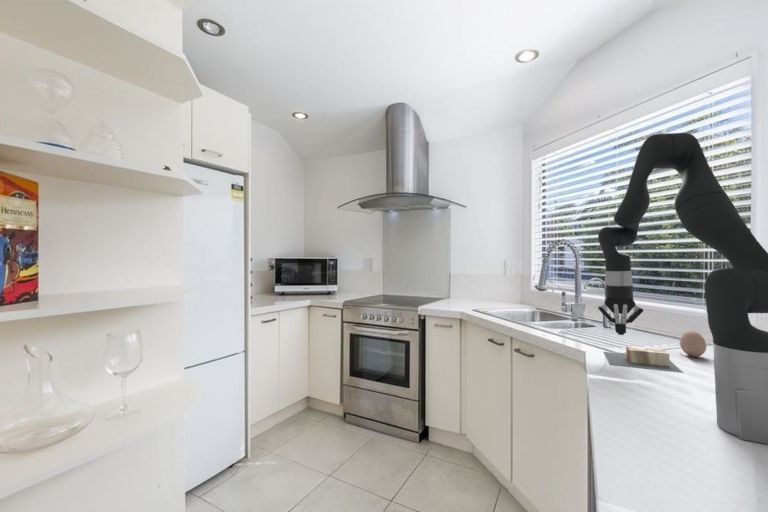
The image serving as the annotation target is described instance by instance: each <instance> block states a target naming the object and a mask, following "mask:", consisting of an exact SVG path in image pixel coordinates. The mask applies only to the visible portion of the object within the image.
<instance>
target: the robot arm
mask: <svg viewBox="0 0 768 512" xmlns="http://www.w3.org/2000/svg"><path fill="white" fill-rule="evenodd" d="M632 169H633V170H632V172H631V174H630V175H631V176H630V179H629V182H628V185H627V189H626V192H625V194H624V197H623V198H622V201H621V202H620V205H619V206H618V208H617V209H616V212H615V214H614V217H613V222H614V223H615V224H616V225H617V226H616V225H615V226H604V227H603V228H601V229H600V230H599V232H598V234H597V235H598V237H597V239H598V243H599V245H600V249H601V251H602V254H603V257H604V260H605V276H604V284H605V285H604V286H605V300H604V302H603V304H602V305H598V306H597V309H598V310H599V311H600V313H602V314H603V316H604V317H605V318H607V320H608V321H609V322H610V323H611V322H612V323H613V324H614V329H615V330H614V331H615V332H616V333H617V335H619V336H624V335H625V334H626V333H627V326H626V325H627V324H631V323H633V322H634V321H635V320H636V319H637V318H638V317H639V316H640V315H641V314H642V313H643V312H644V308H642V307H641V306H640V307H639V306H638V305H637V304H636V302H635V300H634V287H633V274H632V266H631V265H632V262H631V261H632V260H631V257H630V255H629V254H627V253H623V252H619V251H618V250H617V248H616V247H619V248H620V247H628V246H631V245H632V244H634V243H635V242H636V241H637V238H638V231H639V227H640V223H641V220H642V219H643V218H644V216H645V214H646V213H647V211H648V209H649V206H650V202H651V197H650V193H649V188H648V180H649V177H650V175H651V174H652V172H653V171H654V170H659V169H660V170H661V169H662V170H665V169H667V170H668V169H673V170H675V171H676V172H677V173H678V175H679V177H680V179H681V185H680V187H679V190H678V191H677V194H676V196H675V199H674V207H673V208H674V210H675V213H676V215H677V217H678V219H679V220H680V222H681V225H682V226H683V228H684V229H685V230H686V231H687V232H688V233H689V234H690V235H691V236H692V237H694V238H695V239H697V240H699V242H700V241H701V242H702V243H703V244H705V245H707V246H709V247H710V248H712V249H713V250H715V251H716V252H718V253H719V254H721V255H722V256H723V257H724V258H725V259H726V260H727V261H728V262H729V264H730V265H731V266H732V267H726V268H725V267H721V268H716V269H713V270H712V271H710V272H709V274H708V275H707V276H706V279H705V282H704V297H705V298H704V299H705V305H706V306H705V307H706V313H707V324H708V328H709V332H711V335H712V345H713V346H712V347H713V348H712V349H713V365H714V366H713V367H714V368H713V369H714V389H715V392H714V393H715V407H716V409H715V411H716V425H717V426H718V427H719V428H720V429H722V430H723V431H724V432H727V433H728V434H732V435H733V436H736V437H737V438H739V440H744V441H749V442H755V443H762V444H767V445H768V331H766V330H762V329H759V328H758V327H755V326H753V325H752V323H751V321H750V317H749V314H768V251H767V250H766V249H765V248H764V247H763V246H762V245H761V243H760V242H759V241H758V239H757V238H756V237H755V235H754V234H753V232H751V230H750V228H749V227H748V225H747V224H746V222H744V219H743V218H742V216H741V215H740V214H739V212H738V211H737V207H735V204H733V202H732V200H731V198H730V196H729V195H728V194H727V193H726V191H725V189H723V187H722V186H721V184H720V182H719V181H718V179H717V177H716V176H715V174H714V172H713V170H712V168H711V167H710V164H709V163H708V161H707V158H706V156H705V153H704V151H703V148H702V147H701V144H700V142H699V140H698V139H697V137H695V135H694V134H691V133H688V132H673V133H659V134H658V133H656V134H651V135H649V136H648V137H647V138H646V139H645V140H644V142H643V143H642V145H641V146H640V148H639V152H638V154H637V157H636V159H635V162H634V167H633V168H632ZM607 310H609V311H611V313H613V317H612V316H611V315H610V314H609V313H608V312H607ZM631 311H633V312H632V313H631V314H630V315H629V317H628V314H629V313H630V312H631Z"/></svg>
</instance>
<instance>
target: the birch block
mask: <svg viewBox="0 0 768 512" xmlns="http://www.w3.org/2000/svg"><path fill="white" fill-rule="evenodd" d="M625 349H626V351H625V354H626V355H627V359H628V361H629V362H633V363H642V364H652V365H662V366H670V361H671V360H670V353H669V352H668V351H667V350H665V349H662V348H652V347H637V346H625Z"/></svg>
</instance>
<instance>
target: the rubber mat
mask: <svg viewBox="0 0 768 512" xmlns="http://www.w3.org/2000/svg"><path fill="white" fill-rule="evenodd" d="M603 354H604V356H605V358H606V360H607V362H608V364H609V365H610V366H616V367H624V368H633V369H634V368H636V369H644V370H653V371H654V370H655V371H660V372H661V371H662V372H663V371H664V372H670V373H671V372H673V373H682V374H683V373H684V372H683V371H682V370H681V369H680V368H679V367H678V366H677V365H676V364H675V363H674V362H673V361H671V360H670V366H662V365H652V364H642V363H633V362H629V361H628V359H627V355H626V353H621V352H619V353H618V352H611V351H610V352H609V351H603Z"/></svg>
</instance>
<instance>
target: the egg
mask: <svg viewBox="0 0 768 512" xmlns="http://www.w3.org/2000/svg"><path fill="white" fill-rule="evenodd" d="M679 345H680V348H681V350H682V352H683V353H685V354H686V355H687V356H689V357H693V358H696V357H701V356H703V355H704V354H705V353H706V351H707V343H706V340H705V338H704V337H703V335H702V334H701V333H700V332H698V331H696V330H691V329H690V330H686V331H685V332H684V333H683V334H682V335H681V337H680V340H679Z"/></svg>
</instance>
